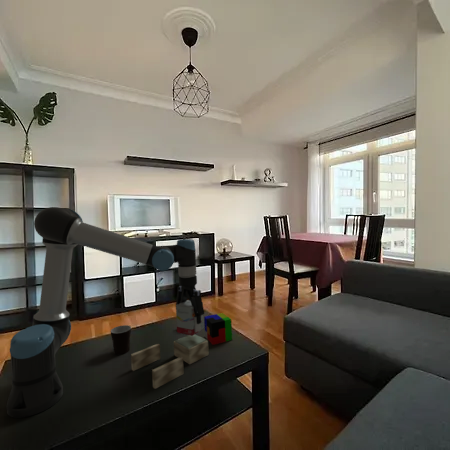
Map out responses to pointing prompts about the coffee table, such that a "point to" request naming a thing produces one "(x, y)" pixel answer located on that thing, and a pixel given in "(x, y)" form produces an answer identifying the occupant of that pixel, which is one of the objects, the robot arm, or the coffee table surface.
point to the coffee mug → (121, 339)
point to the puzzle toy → (218, 328)
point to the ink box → (186, 318)
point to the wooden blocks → (183, 349)
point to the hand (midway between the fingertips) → (190, 327)
